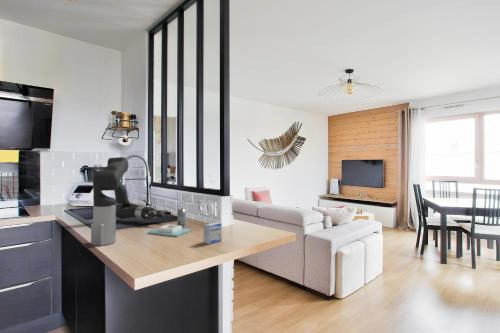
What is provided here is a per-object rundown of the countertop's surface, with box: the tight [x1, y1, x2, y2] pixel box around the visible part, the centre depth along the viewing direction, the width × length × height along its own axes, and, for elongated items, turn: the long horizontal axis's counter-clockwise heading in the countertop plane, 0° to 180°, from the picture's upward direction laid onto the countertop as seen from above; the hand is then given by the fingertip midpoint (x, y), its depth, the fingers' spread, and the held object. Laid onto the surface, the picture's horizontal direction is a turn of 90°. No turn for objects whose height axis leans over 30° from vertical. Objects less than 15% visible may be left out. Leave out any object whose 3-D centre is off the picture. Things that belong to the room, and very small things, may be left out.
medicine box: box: [202, 221, 222, 245], centre depth 132 cm, size 8×4×9 cm, turn 143°
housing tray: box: [147, 224, 193, 238], centre depth 149 cm, size 14×18×3 cm
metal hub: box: [176, 208, 186, 228], centre depth 165 cm, size 4×4×10 cm
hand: (166, 214), depth 168 cm, fingers open, 8 cm apart
